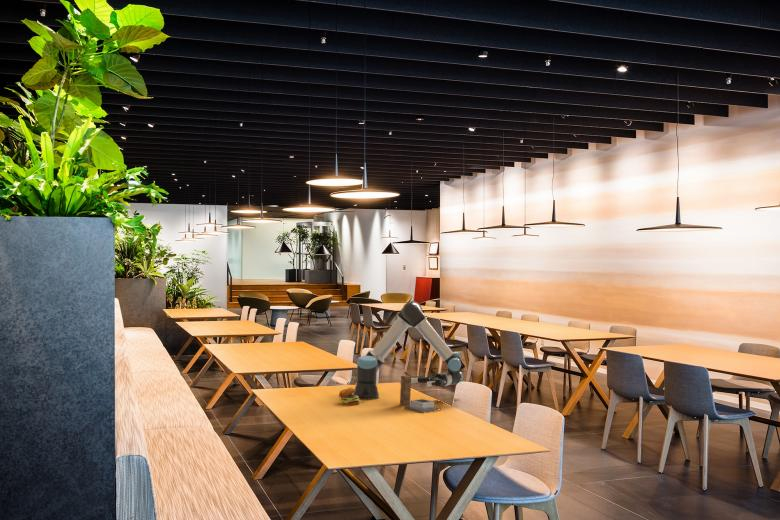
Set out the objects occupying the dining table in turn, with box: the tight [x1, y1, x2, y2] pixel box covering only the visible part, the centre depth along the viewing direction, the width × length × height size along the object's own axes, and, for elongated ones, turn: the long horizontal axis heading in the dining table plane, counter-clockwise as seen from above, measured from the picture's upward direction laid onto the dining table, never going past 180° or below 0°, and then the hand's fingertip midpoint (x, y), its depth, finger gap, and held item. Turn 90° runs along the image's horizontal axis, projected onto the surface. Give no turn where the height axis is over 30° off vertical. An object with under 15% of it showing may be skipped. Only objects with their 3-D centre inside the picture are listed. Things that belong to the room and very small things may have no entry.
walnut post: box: [399, 375, 412, 407], centre depth 373 cm, size 4×4×16 cm
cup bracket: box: [403, 398, 441, 414], centre depth 362 cm, size 14×14×4 cm
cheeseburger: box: [338, 386, 361, 406], centre depth 368 cm, size 10×11×10 cm
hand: (418, 382), depth 379 cm, fingers open, 13 cm apart
